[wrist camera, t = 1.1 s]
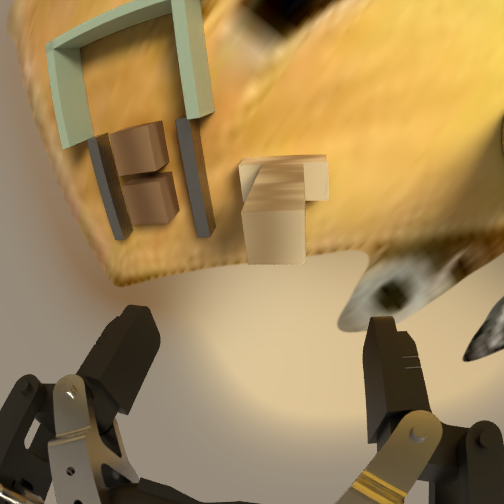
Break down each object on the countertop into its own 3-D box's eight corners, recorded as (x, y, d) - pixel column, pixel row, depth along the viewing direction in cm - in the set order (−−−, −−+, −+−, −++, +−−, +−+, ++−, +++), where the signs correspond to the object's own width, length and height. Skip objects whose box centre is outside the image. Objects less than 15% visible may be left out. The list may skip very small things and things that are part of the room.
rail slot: (196, 114, 24) (188, 117, 22) (215, 226, 29) (210, 236, 28) (98, 135, 26) (86, 140, 24) (124, 230, 31) (115, 239, 30)
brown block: (162, 120, 24) (147, 125, 22) (170, 161, 26) (156, 170, 24) (126, 127, 25) (109, 134, 23) (134, 166, 27) (118, 176, 25)
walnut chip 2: (172, 171, 27) (159, 181, 24) (180, 209, 29) (168, 223, 27) (136, 175, 28) (121, 186, 25) (145, 211, 30) (132, 224, 27)
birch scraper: (325, 154, 24) (342, 210, 14) (326, 189, 26) (340, 263, 16) (243, 158, 25) (205, 213, 16) (248, 192, 27) (215, 264, 17)
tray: (199, -4, 18) (182, -16, 14) (214, 111, 23) (199, 117, 20) (71, 43, 20) (45, 44, 17) (87, 138, 26) (62, 149, 23)
